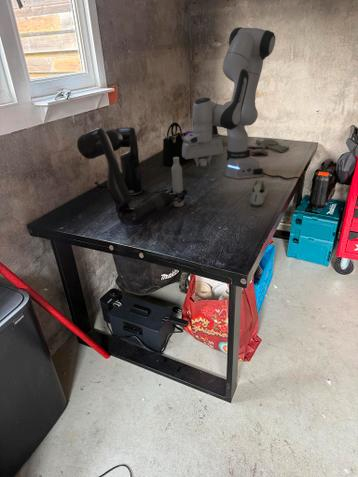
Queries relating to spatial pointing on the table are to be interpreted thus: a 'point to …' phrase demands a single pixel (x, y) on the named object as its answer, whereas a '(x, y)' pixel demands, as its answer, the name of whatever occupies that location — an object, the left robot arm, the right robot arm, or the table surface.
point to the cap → (203, 162)
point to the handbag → (173, 146)
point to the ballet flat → (258, 193)
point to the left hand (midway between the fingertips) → (181, 190)
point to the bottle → (177, 179)
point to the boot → (214, 130)
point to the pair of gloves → (267, 144)
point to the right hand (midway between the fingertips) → (202, 165)
